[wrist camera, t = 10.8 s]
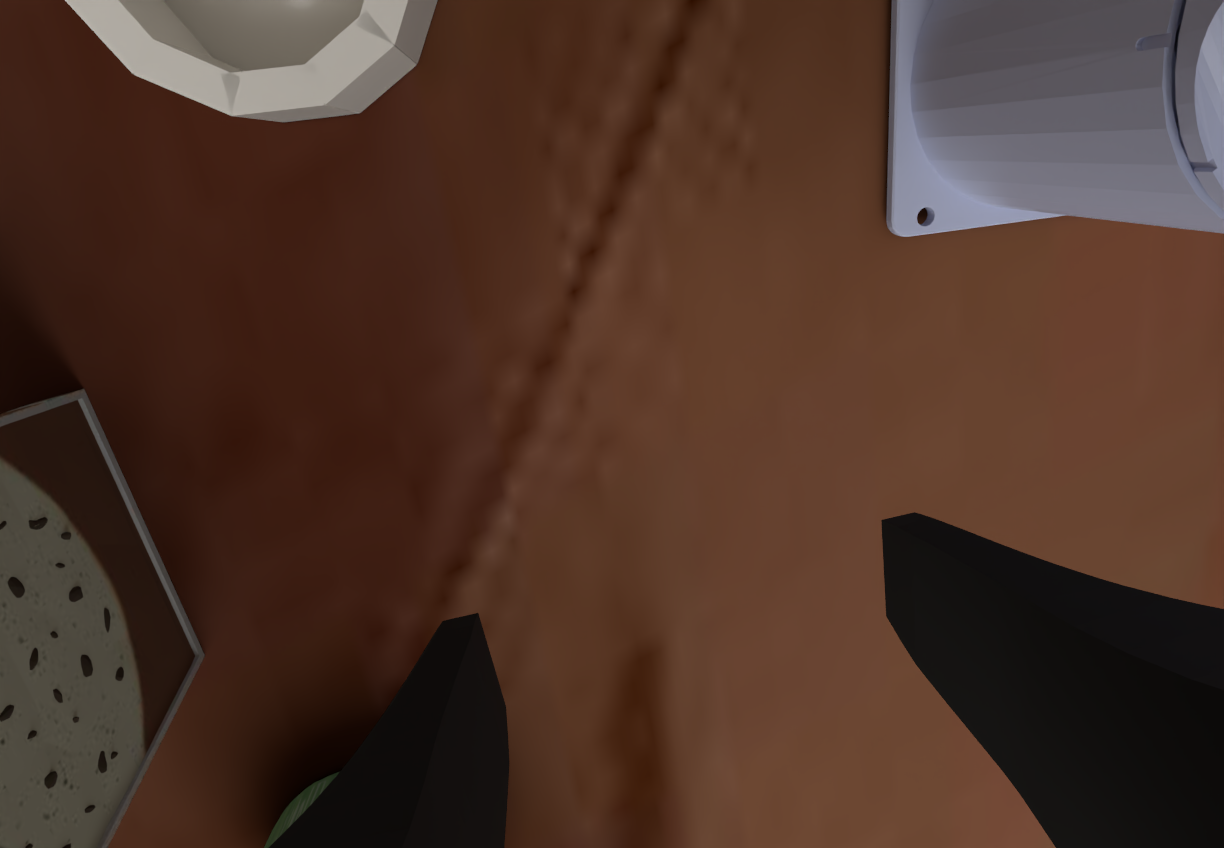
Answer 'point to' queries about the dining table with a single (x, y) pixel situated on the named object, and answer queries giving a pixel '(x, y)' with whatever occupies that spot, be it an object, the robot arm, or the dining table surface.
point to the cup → (266, 50)
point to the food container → (79, 632)
